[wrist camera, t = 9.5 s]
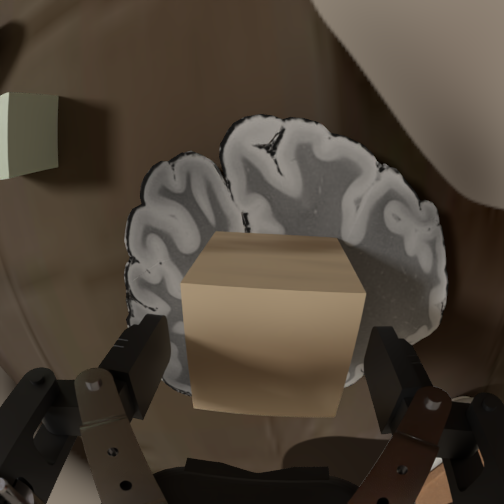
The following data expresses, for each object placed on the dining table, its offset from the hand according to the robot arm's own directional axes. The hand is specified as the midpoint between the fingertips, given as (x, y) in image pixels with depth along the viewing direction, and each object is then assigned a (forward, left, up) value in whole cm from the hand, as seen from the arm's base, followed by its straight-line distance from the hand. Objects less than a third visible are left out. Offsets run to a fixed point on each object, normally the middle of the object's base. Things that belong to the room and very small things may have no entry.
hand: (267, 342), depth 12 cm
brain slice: (0, 0, -8) cm, 8 cm away
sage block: (-9, -17, -8) cm, 21 cm away
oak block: (0, 0, -5) cm, 5 cm away
